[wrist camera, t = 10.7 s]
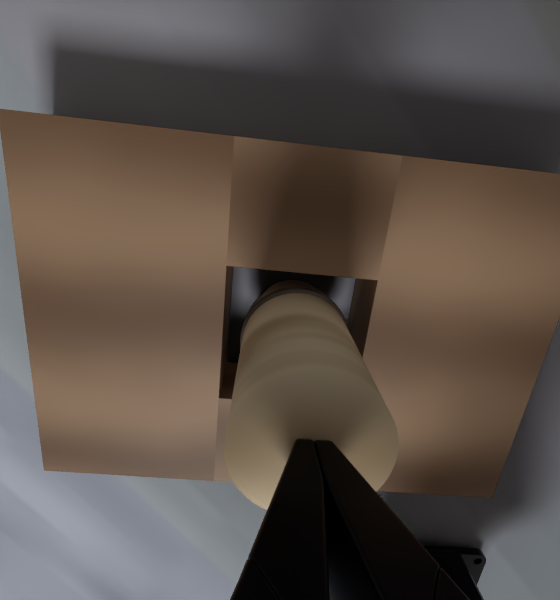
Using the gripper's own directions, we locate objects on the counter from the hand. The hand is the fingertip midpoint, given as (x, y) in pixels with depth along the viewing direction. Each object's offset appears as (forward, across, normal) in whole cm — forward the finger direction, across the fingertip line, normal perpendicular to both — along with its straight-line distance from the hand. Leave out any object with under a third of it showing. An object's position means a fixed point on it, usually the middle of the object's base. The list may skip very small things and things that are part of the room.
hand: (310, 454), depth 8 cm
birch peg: (+9, 0, 0) cm, 9 cm away
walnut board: (+9, 0, 0) cm, 9 cm away
